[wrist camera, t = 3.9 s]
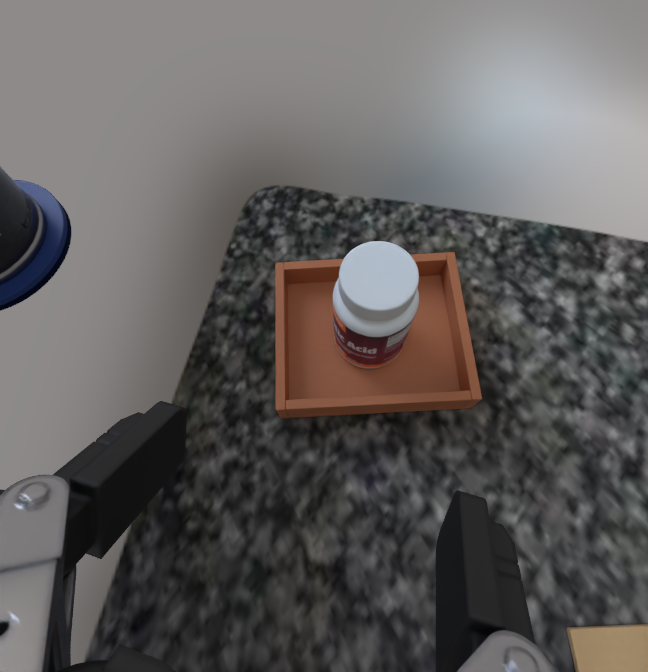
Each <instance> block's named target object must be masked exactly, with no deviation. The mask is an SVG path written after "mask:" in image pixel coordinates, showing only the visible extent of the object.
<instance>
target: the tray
mask: <svg viewBox="0 0 648 672" xmlns="http://www.w3.org/2000/svg"><path fill="white" fill-rule="evenodd" d="M411 257H412V258H413V259H414V261H415V263H416V265H417V268H418V272H419V283H418V287H417V288H418V292H419V305H418V310H417V312H416V315H415V317H414V319H413V322H412V325H411V327H410V330H409V332H408V335H407V338H406V340H405V343H404V346H403V348H402V350H401V352H400V354H399V355H398V356H397V358H396V359H394V360H393V361H392V362H391V363H389V364H387V365H385V366H383V367H380V368H375V369H365V368H360V367H357V366H354V365H353V364H351V363H349V362H348V361H347V360H345V359H344V358H343V357H342V355H341V354H340V353H339V351H338V349H337V347H336V344H335V339H334V322H333V290H334V287H335V284H336V282H337V280H338V278H339V270H340V266H341V264H342V261H343V260H344V259H333V260H316V261H300V262H285V263H276V264H275V328H276V411H277V413H278V414H279V416H280V417H281V418H297V417H316V416H335V415H354V414H373V413H392V412H411V411H430V410H449V409H468V408H472V407H473V406H474V405H476V404H477V403H478V402H479V401H480V400H482V396H481V390H480V385H479V380H478V374H477V369H476V364H475V358H474V353H473V348H472V343H471V337H470V332H469V327H468V321H467V316H466V311H465V305H464V300H463V295H462V289H461V284H460V279H459V274H458V268H457V263H456V258H455V253H454V252H448V253H431V254H415V255H411Z"/></svg>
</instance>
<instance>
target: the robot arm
mask: <svg viewBox="0 0 648 672" xmlns="http://www.w3.org/2000/svg"><path fill="white" fill-rule="evenodd" d="M46 229H47V222H46V217H45V214H44V211H43V209H42V208H41V206H40V205H39V204H38V203H37V202H36V201H35V200H34V199H33V198H32V197H31V196H30V195H29V194H28V193H26V192H25V191H23V190H22V189H21V188H20V187H19V186H18V185H17V184H16V183H15V182H14V180H13V179H12V178H11V177H9V176H8V174H7V173H6V172H5V171H4V170H3V169H2V168H1V167H0V285H1V284H3V283H5V282H7V281H8V280H10V279H12V278H13V277H15V276H16V275H17V274H19V273H20V272H21V271H22V270H24V269H25V268H26V267H27V266H28V265H29V264H30V262H31V261H32V260H33V259H34V258H35V256H36V255H37V253H38V252H39V250H40V248H41V246H42V244H43V242H44V239H45V235H46ZM186 422H187V411H186V409H185V408H183V407H180V406H176V405H173V404H170V403H166V402H163V401H160V402H158V403H157V404H155V405H154V406H153V407H152V408H151V409H150V410H148V411H147V412H146V413H145V414H142V413H139V412H138V413H136V414H133V415H131V416H129V417H126V418H124V419H121V420H120V421H119V422H117V423H116V424H115V425H114V426H112V427H111V428H110V429H109V430H108V431H107V433H104V434H103V435H101V436H100V437H99V438H98V439H97V440H96V442H93V443H91V444H90V445H89V446H88V447H87V448H85V449H84V450H83V451H82V452H80V453H79V454H78V455H77V456H75V457H74V458H73V459H72V460H70V461H69V462H68V463H67V464H66V465H64V466H63V467H62V468H61V469H59V470H58V471H57V472H56V473H54V474H53V475H38V476H32V477H29V478H26V479H23V480H21V481H19V482H16V483H15V484H13V485H11V486H10V487H9V488H7V489H6V490H0V672H176V671H174V670H173V669H172V668H171V667H170V666H169V665H167V664H166V663H165V662H163V661H161V660H158V659H156V658H153V657H151V656H148V655H146V654H143V653H141V652H138V651H136V650H133V649H131V648H128V647H126V646H123V645H121V644H119V646H118V648H117V649H116V651H115V652H114V654H113V655H112V657H111V658H110V660H99V661H89V662H84V663H79V664H75V665H72V666H71V665H70V664H71V663H70V644H71V643H70V642H71V629H72V617H73V604H74V593H75V581H76V563H77V562H78V561H79V560H80V559H81V558H82V557H83V556H84V555H85V553H86V554H89V555H92V556H95V557H97V558H100V559H102V557H103V556H104V555H105V554H106V553H107V552H108V550H109V549H110V548H111V547H112V545H113V544H114V543H115V542H116V541H117V540H118V538H119V537H120V536H121V535H122V534H123V533H124V531H125V530H126V529H127V528H128V527H129V526H130V524H131V523H132V522H133V521H134V520H135V518H136V517H137V516H138V515H139V514H140V513H141V511H142V510H143V509H144V508H145V507H146V506H147V504H148V503H149V502H150V501H151V500H152V498H153V497H154V496H155V495H156V494H157V493H158V491H159V490H160V489H161V488H162V487H163V485H164V484H165V483H166V482H167V481H168V480H169V478H170V477H171V476H172V475H173V474H174V472H175V471H176V470H177V469H178V467H179V465H180V464H181V461H182V459H183V456H184V452H185V441H186ZM517 563H518V560H517V555H516V550H515V545H514V542H513V541H512V539H511V538H510V536H509V534H508V533H507V531H506V530H505V528H504V526H503V525H502V524H499V523H495V522H492V521H489V514H488V508H487V502H486V500H485V499H484V498H481V497H478V496H475V495H471V494H468V493H464V492H461V491H458V490H457V491H456V492H455V494H454V496H453V498H452V501H451V503H450V506H449V509H448V511H447V514H446V516H445V519H444V522H443V524H442V527H441V529H440V532H439V536H438V540H437V546H436V672H555V671H554V669H553V667H552V665H551V663H550V662H549V660H548V659H547V657H546V656H545V655H544V654H543V652H542V651H541V650H540V649H539V648H538V647H537V646H536V644H535V641H534V636H533V631H532V626H531V622H530V617H529V612H528V607H527V603H526V598H525V593H524V588H523V584H522V581H521V574H520V569H519V565H517Z"/></svg>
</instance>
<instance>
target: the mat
mask: <svg viewBox="0 0 648 672" xmlns="http://www.w3.org/2000/svg"><path fill="white" fill-rule="evenodd" d="M566 629H567V634H568V638H569V643H570V648H571V652H572V657H573V661H574V666H575V670H576V672H648V624H637V625H612V626H588V627H567V628H566Z"/></svg>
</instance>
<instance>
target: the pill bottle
mask: <svg viewBox="0 0 648 672" xmlns="http://www.w3.org/2000/svg"><path fill="white" fill-rule="evenodd" d="M418 283H419V272H418V268H417V265H416V263H415V261H414V259H413V258H412V257H411V255H410V254H409V253H408V252H407V251H405V250H404V249H403V248H401V247H399V246H397V245H395V244H392V243H389V242H383V241H373V242H368V243H364V244H361V245H359V246H357V247H356V248H354V249H353V250H351V251H350V252H349V253H348V254H347V255H346V257H345V258H344V260H343V261H342V264H341V266H340V270H339V278H338V280H337V282H336V284H335V287H334V290H333V322H334V339H335V344H336V347H337V349H338V351H339V353H340V354H341V355H342V357H343V358H344V359H345V360H347V361H348V362H349V363H351V364H353V365H354V366H357V367H360V368H365V369H375V368H380V367H383V366H385V365H387V364H389V363H391V362H392V361H393V360H394V359H396V358H397V356H398V355H399V354H400V352H401V350H402V348H403V346H404V343H405V340H406V338H407V335H408V332H409V330H410V327H411V325H412V322H413V319H414V317H415V315H416V312H417V310H418V305H419V292H418V288H417V287H418Z"/></svg>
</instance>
